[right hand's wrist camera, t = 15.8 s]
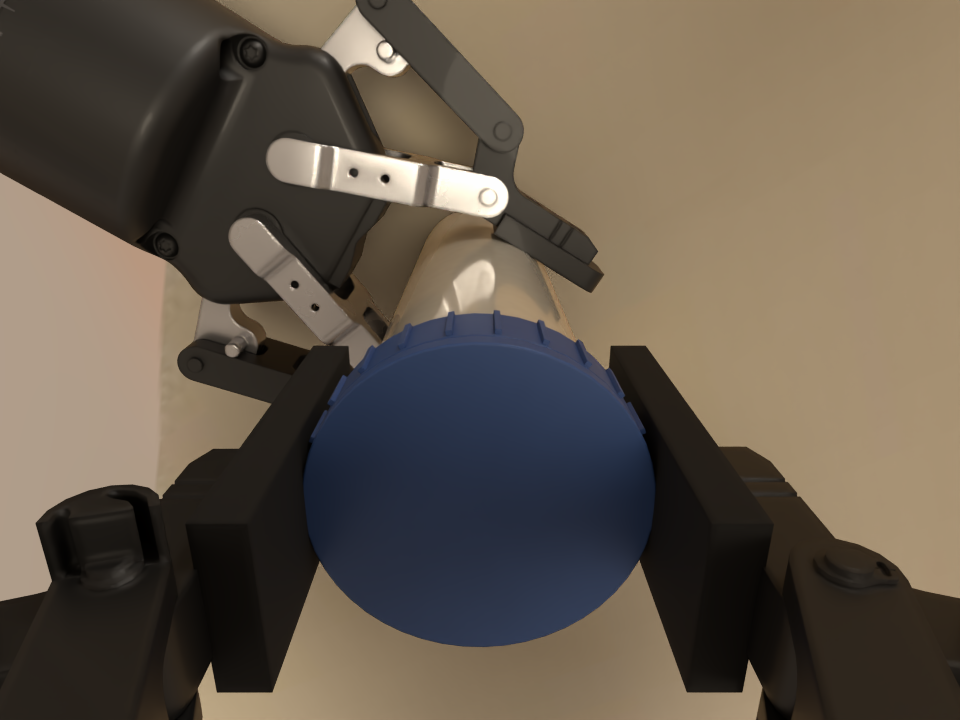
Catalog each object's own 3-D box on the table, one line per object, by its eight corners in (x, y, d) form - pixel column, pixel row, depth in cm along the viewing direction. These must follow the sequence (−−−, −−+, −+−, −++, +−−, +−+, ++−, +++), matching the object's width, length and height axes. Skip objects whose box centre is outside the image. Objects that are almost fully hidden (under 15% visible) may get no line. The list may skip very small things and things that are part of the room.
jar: (511, 338, 29) (553, 638, 12) (404, 298, 28) (297, 558, 12) (557, 232, 27) (677, 414, 11) (444, 187, 26) (387, 305, 10)
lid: (648, 303, 11) (673, 333, 9) (629, 586, 13) (648, 647, 11) (300, 313, 11) (272, 344, 9) (337, 594, 13) (319, 654, 12)
